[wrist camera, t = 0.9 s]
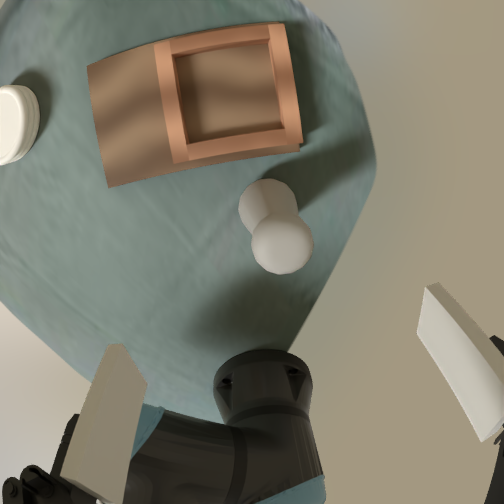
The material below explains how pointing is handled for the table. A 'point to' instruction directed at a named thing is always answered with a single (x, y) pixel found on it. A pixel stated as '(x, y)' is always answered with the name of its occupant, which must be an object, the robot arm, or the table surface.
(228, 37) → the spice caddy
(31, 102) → the white round container
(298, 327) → the table surface
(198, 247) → the table surface
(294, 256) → the salt shaker
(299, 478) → the robot arm
